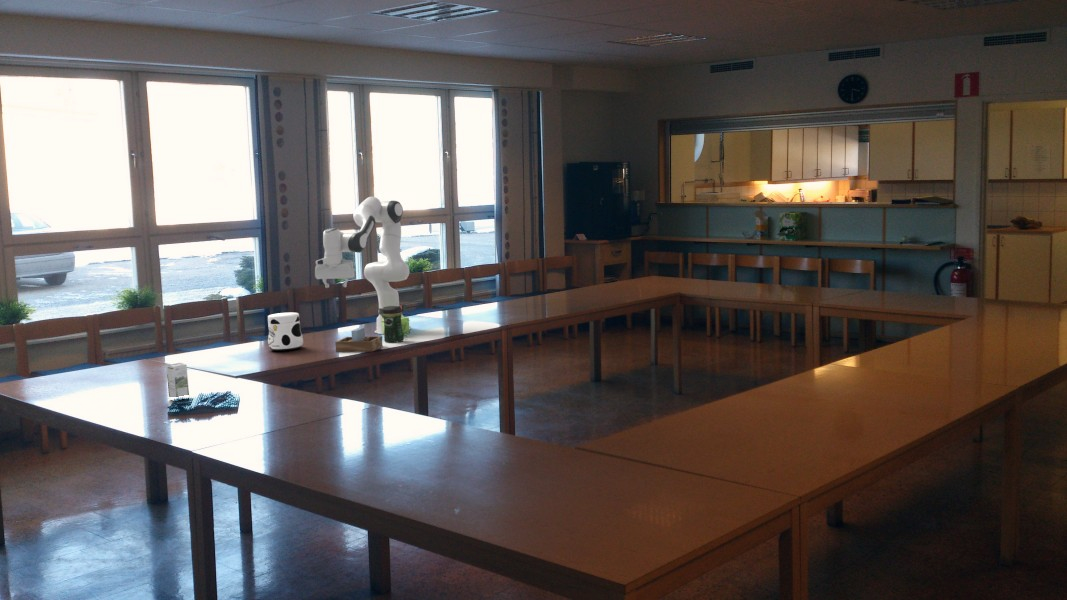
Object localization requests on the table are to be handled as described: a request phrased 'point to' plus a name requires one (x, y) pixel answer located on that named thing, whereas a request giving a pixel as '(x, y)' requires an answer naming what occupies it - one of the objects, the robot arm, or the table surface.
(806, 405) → the table surface
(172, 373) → the syrup box
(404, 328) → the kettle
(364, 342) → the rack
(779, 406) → the table surface
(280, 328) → the milk container
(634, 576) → the table surface
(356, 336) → the light blue thin block
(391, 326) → the coffee jar
